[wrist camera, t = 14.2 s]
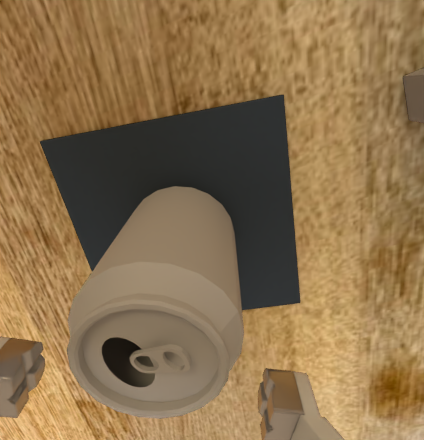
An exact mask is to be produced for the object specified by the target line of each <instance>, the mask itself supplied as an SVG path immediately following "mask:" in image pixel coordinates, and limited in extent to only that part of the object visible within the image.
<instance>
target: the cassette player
mask: <svg viewBox="0 0 424 440" xmlns="http://www.w3.org/2000/svg"><path fill="white" fill-rule="evenodd" d="M403 80H404V87H405V95H406V102H407V109H408V116H409V120H410V121H416V122H421V123H424V68H422V69H420V70H417V71H415V72H412V73H410V74H407V75H405V76H403Z"/></svg>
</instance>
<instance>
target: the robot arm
mask: <svg viewBox="0 0 424 440" xmlns="http://www.w3.org/2000/svg"><path fill="white" fill-rule="evenodd" d="M42 351H43V345H42V343H41V342H36V341H29V340H23V339H16V338H8V337H0V417H12V418H17V417H18V416H19V414H20V413H21V411H22V409H23V408H24V406H25V404H26V403H27V401H28V400H29V395H28V392H29V391H31V390H32V389H34V388H35V387H36V386H37V385H38V383H39V381H40V380H41V377H42V375H43V372H44V367H45V359H44V357H43V356H42V355H41V352H42ZM258 410H259V413H260V414H261V416H262V421H261V424H260V427H261V435H262V440H344V438H343V437H342V436H341V435H340V434H339V433H338V432H337V431H336V429H335V428H334V427H333V426H332V425H331V424H330V423H329V422H328V420H327V419H326V418H325V417H321V416H320V413H319V410H318V407H317V403H316V400H315V397H314V394H313V390H312V387H311V384H310V381H309V378H308V375H307V374H306V373H301V372H292V371H286V370H276V369H267V368H266V369H265V370H264V372H263V382H262V383H260V386H259V390H258Z"/></svg>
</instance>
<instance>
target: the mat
mask: <svg viewBox="0 0 424 440" xmlns="http://www.w3.org/2000/svg"><path fill="white" fill-rule="evenodd" d="M40 144H41V146H42V148H43V151H44V153H45V156H46V158H47V161H48V163H49V166H50V168H51V171H52V173H53V176H54V178H55V181H56V183H57V186H58V188H59V191H60V193H61V196H62V198H63V201H64V203H65V206H66V208H67V211H68V213H69V215H70V218H71V220H72V223H73V225H74V228H75V230H76V233H77V235H78V238H79V240H80V243H81V245H82V248H83V250H84V253H85V255H86V258H87V260H88V263H89V265H90V268H91V270H92V271H93V270H94V268H95V267H96V265H97V264H98V263H99V261H100V260H101V258H102V257H103V255H104V254H105V252H106V251H107V250H108V248H109V247H110V245H111V244H112V242H113V241H114V239H115V238H116V237H117V235H118V234H119V232H120V231H121V229H122V228H123V226H124V225H125V224H126V222H127V221H128V219H129V218H130V216H131V215H132V213H133V212H134V211H135V209H136V208H137V207H138V206H139V204H140V203H141V202H142V201H143V199H144V198H146V197H148V196H149V195H151V194H152V193H154V192H156V191H157V190H161V189H165V188H169V187H173V186H178V187H192V188H195V189H197V190H200V191H202V192H205V193H208V194H209V195H211V196H212V197H213V198H214V199H216V200H217V201H218V202H219V203H221V204H222V205H223V207H224V208H225V210H226V211H227V213H228V215H229V216H230V218H231V221H232V225H233V229H234V233H235V243H236V254H237V264H238V275H239V285H240V296H241V306H242V310H247V309H255V308H263V307H271V306H279V305H287V304H295V303H300V293H299V280H298V268H297V255H296V243H295V231H294V218H293V206H292V193H291V181H290V168H289V156H288V143H287V131H286V118H285V106H284V95H278V96H273V97H268V98H263V99H258V100H252V101H247V102H242V103H237V104H231V105H226V106H221V107H216V108H211V109H205V110H200V111H195V112H190V113H185V114H179V115H174V116H169V117H164V118H159V119H153V120H148V121H143V122H138V123H133V124H127V125H122V126H117V127H112V128H107V129H101V130H96V131H91V132H86V133H81V134H75V135H70V136H65V137H60V138H54V139H49V140H44V141H40Z"/></svg>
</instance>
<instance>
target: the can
mask: <svg viewBox="0 0 424 440" xmlns="http://www.w3.org/2000/svg"><path fill="white" fill-rule="evenodd" d="M68 325H69V331H70V340H69V344H68V347H67V354H68V360H69V366H70V369H71V371H72V373H73V374H74V376H75V377H76V379H77V381H78V382H79V384H80V386H81V387H82V388H83V389H84V390H85V391H87V392H88V393H89V394H90V395H91V396H92V397H93V398H95V399H96V400H97V401H98V402H100V403H102V404H104V405H106V406H108V407H110V408H112V409H114V410H116V411H118V412H122V413H126V414H129V415H133V416H137V417H145V418H160V419H161V418H168V417H175V416H182V415H185V414H187V413H190V412H193V411H195V410H198V409H200V408H202V407H204V406H205V405H206V404H208V403H209V402H210V401H211V400H213V399H214V398H215V397H217V396H218V395H219V393H220V392H221V390H222V388H223V387H224V385H225V383H226V382H227V380H228V374H229V371H230V370H231V369H232V367H233V365H234V364H235V362H236V360H237V359H238V357H239V355H240V354H241V350H242V343H243V336H244V327H243V317H242V306H241V296H240V285H239V275H238V264H237V254H236V243H235V233H234V229H233V225H232V221H231V218H230V216H229V215H228V213H227V211H226V210H225V208H224V207H223V205H222V204H221V203H219V202H218V201H217V200H216V199H214V198H213V197H212V196H211V195H209V194H208V193H205V192H202V191H200V190H197V189H195V188H192V187H178V186H173V187H169V188H165V189H161V190H157V191H156V192H154V193H152V194H151V195H149V196H148V197H146V198H144V199H143V201H142V202H141V203H140V204H139V206H138V207H137V208H136V209H135V211H134V212H133V213H132V215H131V216H130V218H129V219H128V221H127V222H126V224H125V225H124V226H123V228H122V229H121V231H120V232H119V234H118V235H117V237H116V238H115V239H114V241H113V242H112V244H111V245H110V247H109V248H108V250H107V251H106V252H105V254H104V255H103V257H102V258H101V260H100V261H99V263H98V264H97V265H96V267H95V268H94V270H93V271H92V273H91V274H90V276H89V277H88V278H87V280H86V281H85V283H84V284H83V286H82V287H81V289H80V290H79V291H78V293H77V294H76V296H75V297H74V299H73V302H72V306H71V309H70V313H69V317H68Z"/></svg>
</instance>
